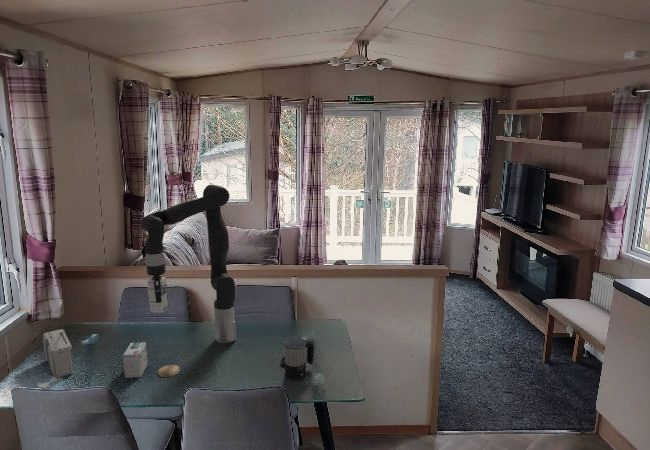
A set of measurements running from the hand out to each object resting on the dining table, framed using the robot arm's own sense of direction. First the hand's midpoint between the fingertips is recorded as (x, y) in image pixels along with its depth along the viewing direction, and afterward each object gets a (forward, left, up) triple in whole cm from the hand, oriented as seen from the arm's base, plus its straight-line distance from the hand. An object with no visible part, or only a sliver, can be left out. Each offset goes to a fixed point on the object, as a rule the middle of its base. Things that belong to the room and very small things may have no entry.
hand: (158, 298), depth 207 cm
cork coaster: (-2, +10, -29) cm, 31 cm away
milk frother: (-52, +26, -30) cm, 65 cm away
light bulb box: (+11, +5, -30) cm, 32 cm away
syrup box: (0, 0, -5) cm, 5 cm away
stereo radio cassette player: (+42, -9, -30) cm, 52 cm away
